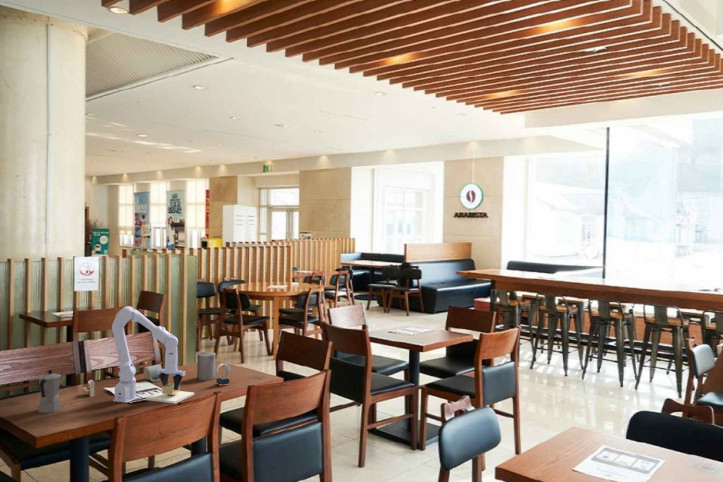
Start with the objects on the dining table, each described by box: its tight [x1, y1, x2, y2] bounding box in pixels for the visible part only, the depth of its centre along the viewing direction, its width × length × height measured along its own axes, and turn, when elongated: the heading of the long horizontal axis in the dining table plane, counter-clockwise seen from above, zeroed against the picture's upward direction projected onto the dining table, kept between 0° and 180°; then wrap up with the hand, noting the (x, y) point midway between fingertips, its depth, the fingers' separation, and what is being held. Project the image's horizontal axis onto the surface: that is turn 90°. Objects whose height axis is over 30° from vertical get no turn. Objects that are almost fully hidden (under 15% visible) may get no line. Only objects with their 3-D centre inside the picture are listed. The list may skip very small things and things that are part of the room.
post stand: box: [145, 385, 195, 404], centre depth 282 cm, size 16×16×6 cm
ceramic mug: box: [143, 363, 163, 383], centre depth 314 cm, size 11×8×8 cm
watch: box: [215, 363, 232, 385], centre depth 308 cm, size 6×8×11 cm
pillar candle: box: [196, 351, 217, 381], centre depth 320 cm, size 10×10×15 cm
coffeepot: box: [38, 369, 62, 414], centre depth 258 cm, size 15×9×18 cm, turn 6°
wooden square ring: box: [161, 382, 181, 395], centre depth 282 cm, size 6×6×4 cm
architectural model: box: [82, 379, 95, 398], centre depth 283 cm, size 3×7×7 cm, turn 43°
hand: (170, 389), depth 282 cm, fingers closed on wooden square ring, 5 cm apart
